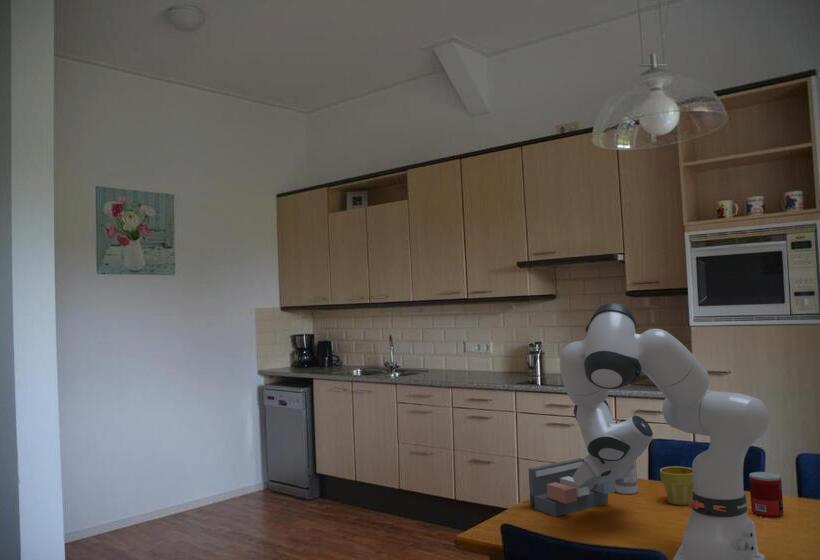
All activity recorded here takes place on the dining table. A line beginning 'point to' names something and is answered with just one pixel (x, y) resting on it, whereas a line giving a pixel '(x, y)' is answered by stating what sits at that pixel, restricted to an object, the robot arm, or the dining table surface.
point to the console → (553, 474)
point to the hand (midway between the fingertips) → (591, 487)
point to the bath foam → (628, 483)
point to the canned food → (766, 494)
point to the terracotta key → (561, 492)
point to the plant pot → (678, 484)
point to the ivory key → (570, 482)
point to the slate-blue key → (606, 487)
